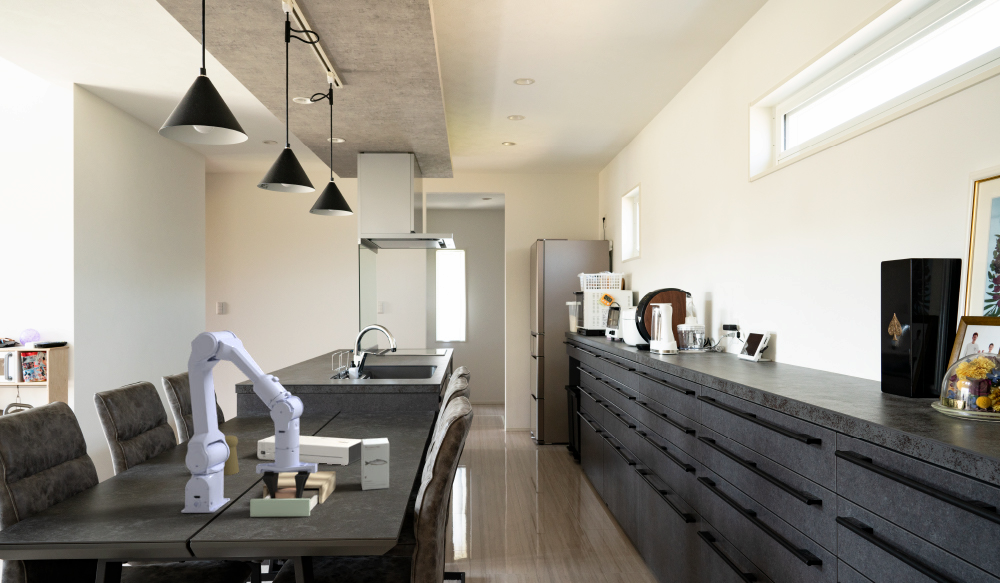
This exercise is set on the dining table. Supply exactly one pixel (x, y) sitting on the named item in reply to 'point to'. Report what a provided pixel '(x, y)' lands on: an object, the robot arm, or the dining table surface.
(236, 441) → the pepper mill
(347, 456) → the laminator
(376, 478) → the supplement box
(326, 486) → the block
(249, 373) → the robot arm
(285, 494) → the disc
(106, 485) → the dining table surface
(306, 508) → the tray
